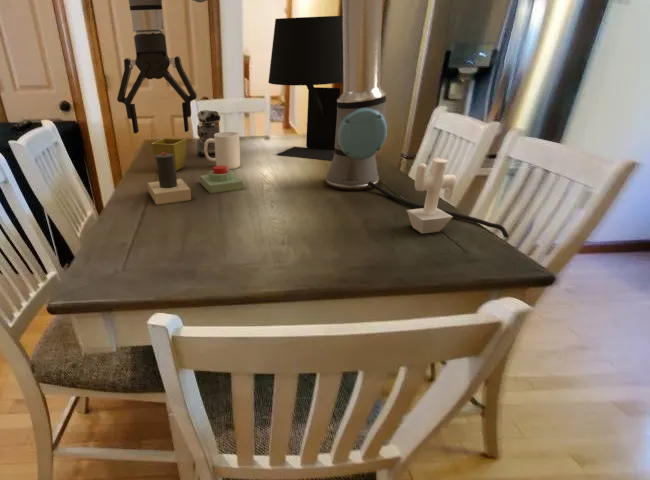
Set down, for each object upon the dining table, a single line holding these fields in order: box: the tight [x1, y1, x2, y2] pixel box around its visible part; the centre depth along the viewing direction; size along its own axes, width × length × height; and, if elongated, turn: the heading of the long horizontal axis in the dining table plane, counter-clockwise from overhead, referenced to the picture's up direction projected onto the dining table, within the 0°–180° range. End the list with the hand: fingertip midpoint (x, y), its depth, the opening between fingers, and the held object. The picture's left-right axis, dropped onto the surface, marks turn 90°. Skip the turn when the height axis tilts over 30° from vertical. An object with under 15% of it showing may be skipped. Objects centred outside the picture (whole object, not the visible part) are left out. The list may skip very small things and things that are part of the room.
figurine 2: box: [406, 157, 457, 235], centre depth 102 cm, size 7×9×15 cm
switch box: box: [199, 169, 244, 194], centre depth 139 cm, size 12×10×4 cm
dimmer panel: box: [147, 178, 192, 206], centre depth 133 cm, size 12×10×3 cm
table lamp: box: [267, 15, 343, 162], centre depth 155 cm, size 26×28×40 cm
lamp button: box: [212, 165, 228, 174], centre depth 138 cm, size 4×4×2 cm
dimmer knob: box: [154, 152, 178, 188], centre depth 129 cm, size 5×5×8 cm
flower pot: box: [150, 137, 187, 172], centre depth 156 cm, size 9×9×9 cm
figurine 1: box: [196, 109, 221, 157], centre depth 169 cm, size 9×12×15 cm
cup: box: [203, 131, 241, 170], centre depth 156 cm, size 8×12×10 cm
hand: (161, 131), depth 124 cm, fingers open, 13 cm apart
